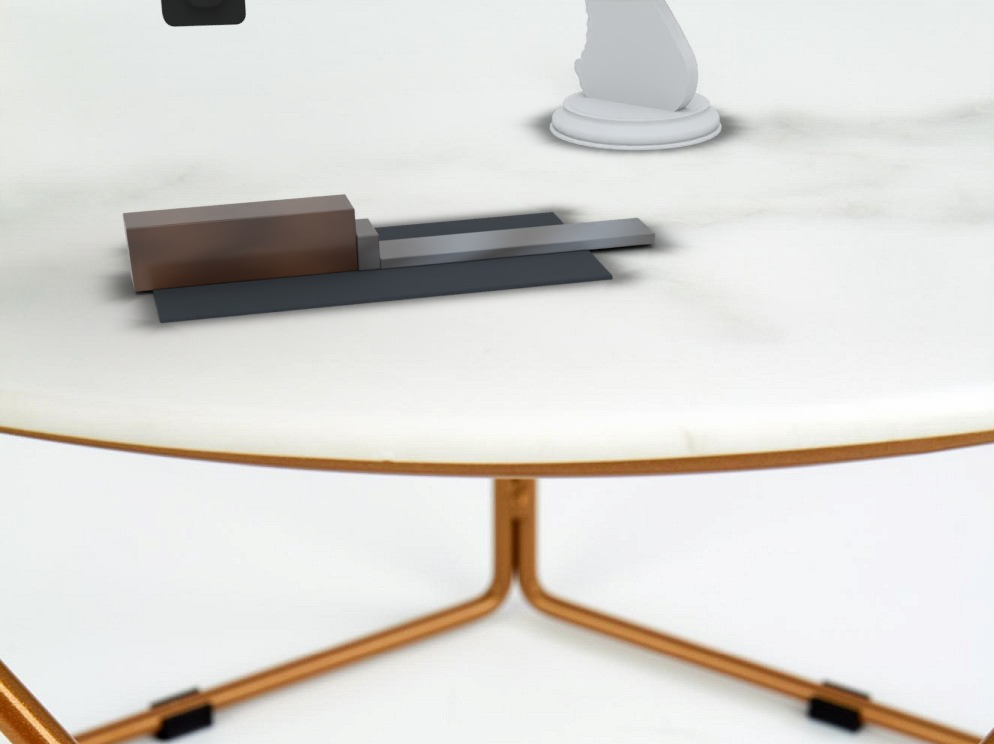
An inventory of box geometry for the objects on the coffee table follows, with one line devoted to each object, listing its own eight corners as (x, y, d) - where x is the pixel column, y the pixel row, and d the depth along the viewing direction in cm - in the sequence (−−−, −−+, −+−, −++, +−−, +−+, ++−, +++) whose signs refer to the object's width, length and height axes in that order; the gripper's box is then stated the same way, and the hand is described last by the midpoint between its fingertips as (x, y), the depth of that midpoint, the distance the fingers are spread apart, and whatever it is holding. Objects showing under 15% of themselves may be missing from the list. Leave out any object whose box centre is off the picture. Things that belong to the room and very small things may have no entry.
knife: (134, 292, 75) (125, 229, 74) (130, 274, 77) (122, 212, 76) (655, 243, 80) (657, 183, 78) (638, 227, 82) (639, 168, 80)
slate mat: (161, 332, 73) (159, 318, 72) (144, 260, 81) (143, 247, 80) (612, 288, 77) (612, 275, 76) (553, 223, 85) (553, 211, 84)
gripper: (40, -504, 68) (91, -33, 77) (52, -531, 54) (112, 48, 63) (230, -498, 69) (257, -37, 79) (290, -523, 55) (314, 41, 65)
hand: (193, 0), depth 71 cm, fingers open, 9 cm apart
